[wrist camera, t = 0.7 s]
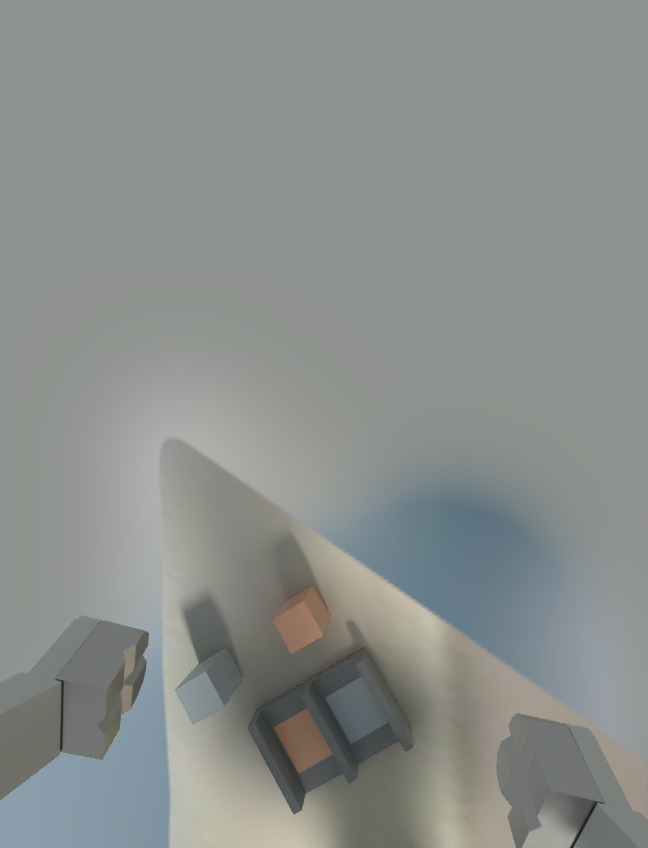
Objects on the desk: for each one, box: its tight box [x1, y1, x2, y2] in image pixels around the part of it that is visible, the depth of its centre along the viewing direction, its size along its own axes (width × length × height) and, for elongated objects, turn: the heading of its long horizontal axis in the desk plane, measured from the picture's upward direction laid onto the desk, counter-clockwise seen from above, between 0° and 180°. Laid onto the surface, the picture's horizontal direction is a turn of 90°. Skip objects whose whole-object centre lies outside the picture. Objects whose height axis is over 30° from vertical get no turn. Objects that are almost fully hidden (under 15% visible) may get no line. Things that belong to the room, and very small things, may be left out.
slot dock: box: [248, 648, 413, 814], centre depth 51 cm, size 10×15×4 cm, turn 122°
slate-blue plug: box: [175, 647, 243, 724], centre depth 52 cm, size 4×4×6 cm
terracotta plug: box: [272, 585, 331, 655], centre depth 51 cm, size 4×4×6 cm
